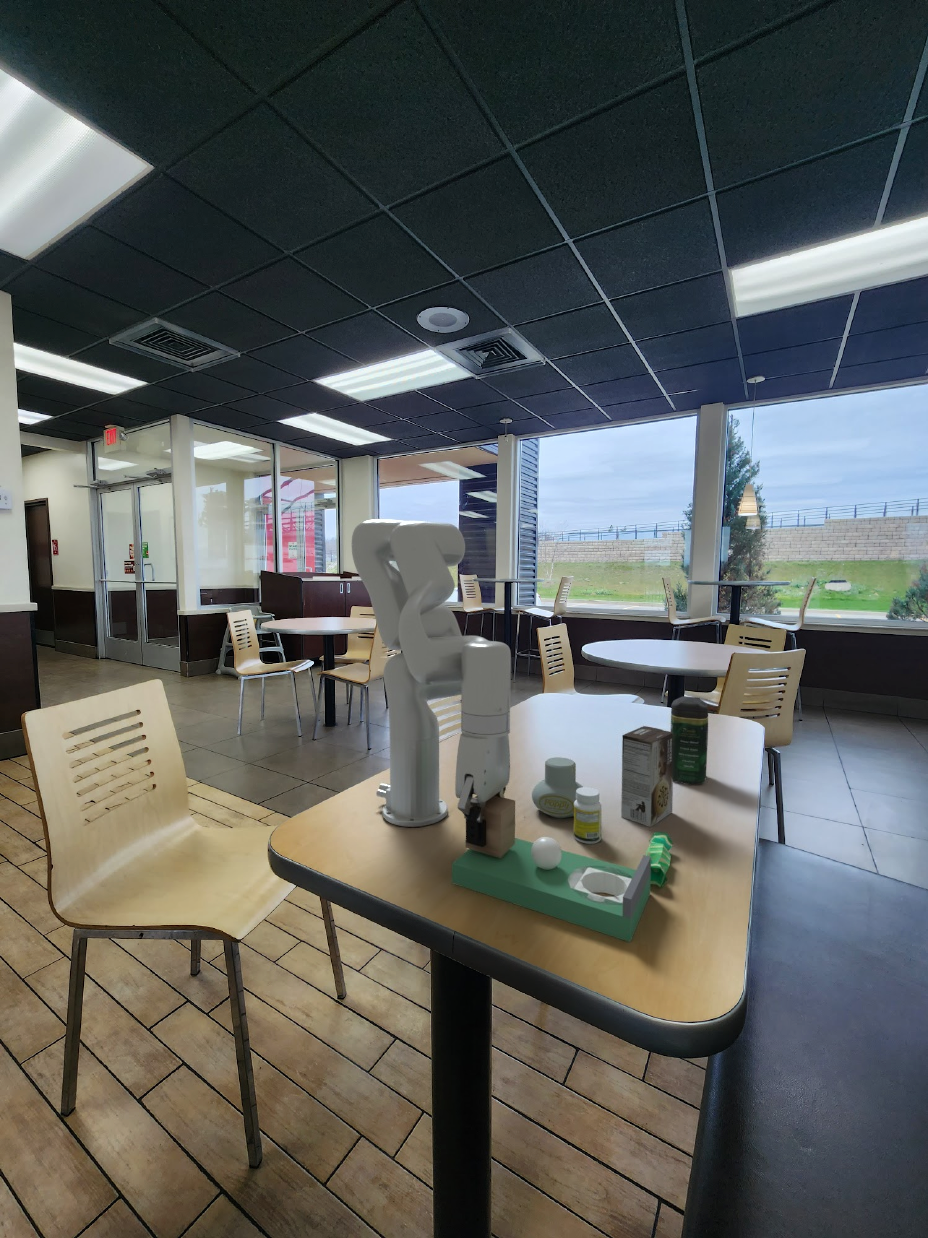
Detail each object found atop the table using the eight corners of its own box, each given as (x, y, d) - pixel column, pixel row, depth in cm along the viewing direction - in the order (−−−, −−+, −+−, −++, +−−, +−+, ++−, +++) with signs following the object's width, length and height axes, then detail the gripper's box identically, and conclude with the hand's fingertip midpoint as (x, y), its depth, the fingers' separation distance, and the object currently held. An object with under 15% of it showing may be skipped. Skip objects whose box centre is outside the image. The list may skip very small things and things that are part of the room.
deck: (452, 883, 79) (451, 847, 79) (489, 848, 89) (489, 816, 89) (630, 942, 66) (631, 899, 65) (650, 894, 76) (650, 856, 76)
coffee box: (642, 803, 108) (643, 725, 107) (673, 813, 103) (675, 731, 102) (619, 817, 101) (620, 734, 100) (651, 828, 97) (653, 741, 96)
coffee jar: (706, 788, 116) (708, 704, 115) (667, 782, 119) (669, 700, 118) (706, 774, 125) (708, 695, 123) (670, 769, 128) (672, 692, 127)
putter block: (465, 847, 82) (465, 803, 81) (481, 834, 86) (481, 792, 86) (500, 858, 79) (500, 812, 78) (514, 844, 83) (515, 800, 83)
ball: (526, 870, 77) (526, 841, 77) (538, 857, 81) (538, 829, 80) (555, 879, 75) (555, 848, 74) (565, 864, 78) (566, 835, 78)
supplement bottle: (581, 829, 96) (581, 784, 96) (605, 837, 93) (606, 790, 93) (568, 839, 93) (569, 792, 92) (593, 847, 90) (594, 799, 89)
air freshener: (527, 816, 102) (528, 765, 101) (536, 800, 110) (537, 752, 109) (585, 825, 98) (586, 772, 98) (590, 807, 106) (591, 758, 105)
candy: (671, 887, 77) (655, 860, 77) (650, 895, 78) (635, 868, 79) (677, 850, 87) (663, 827, 88) (659, 857, 89) (645, 835, 90)
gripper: (489, 707, 91) (489, 811, 92) (434, 731, 76) (434, 854, 77) (530, 713, 87) (528, 821, 88) (480, 740, 72) (479, 868, 74)
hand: (484, 835), depth 83 cm, fingers closed on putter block, 5 cm apart
